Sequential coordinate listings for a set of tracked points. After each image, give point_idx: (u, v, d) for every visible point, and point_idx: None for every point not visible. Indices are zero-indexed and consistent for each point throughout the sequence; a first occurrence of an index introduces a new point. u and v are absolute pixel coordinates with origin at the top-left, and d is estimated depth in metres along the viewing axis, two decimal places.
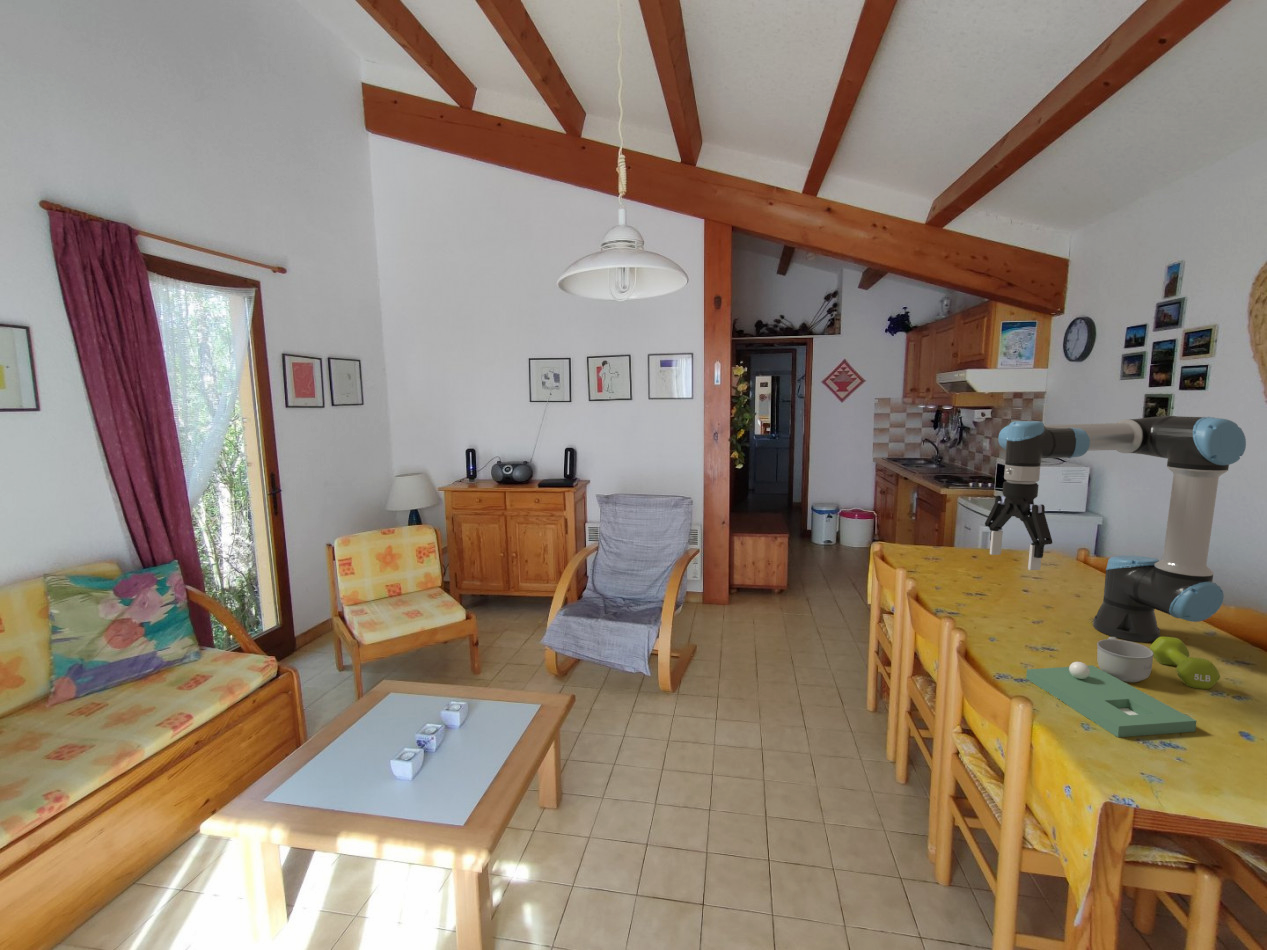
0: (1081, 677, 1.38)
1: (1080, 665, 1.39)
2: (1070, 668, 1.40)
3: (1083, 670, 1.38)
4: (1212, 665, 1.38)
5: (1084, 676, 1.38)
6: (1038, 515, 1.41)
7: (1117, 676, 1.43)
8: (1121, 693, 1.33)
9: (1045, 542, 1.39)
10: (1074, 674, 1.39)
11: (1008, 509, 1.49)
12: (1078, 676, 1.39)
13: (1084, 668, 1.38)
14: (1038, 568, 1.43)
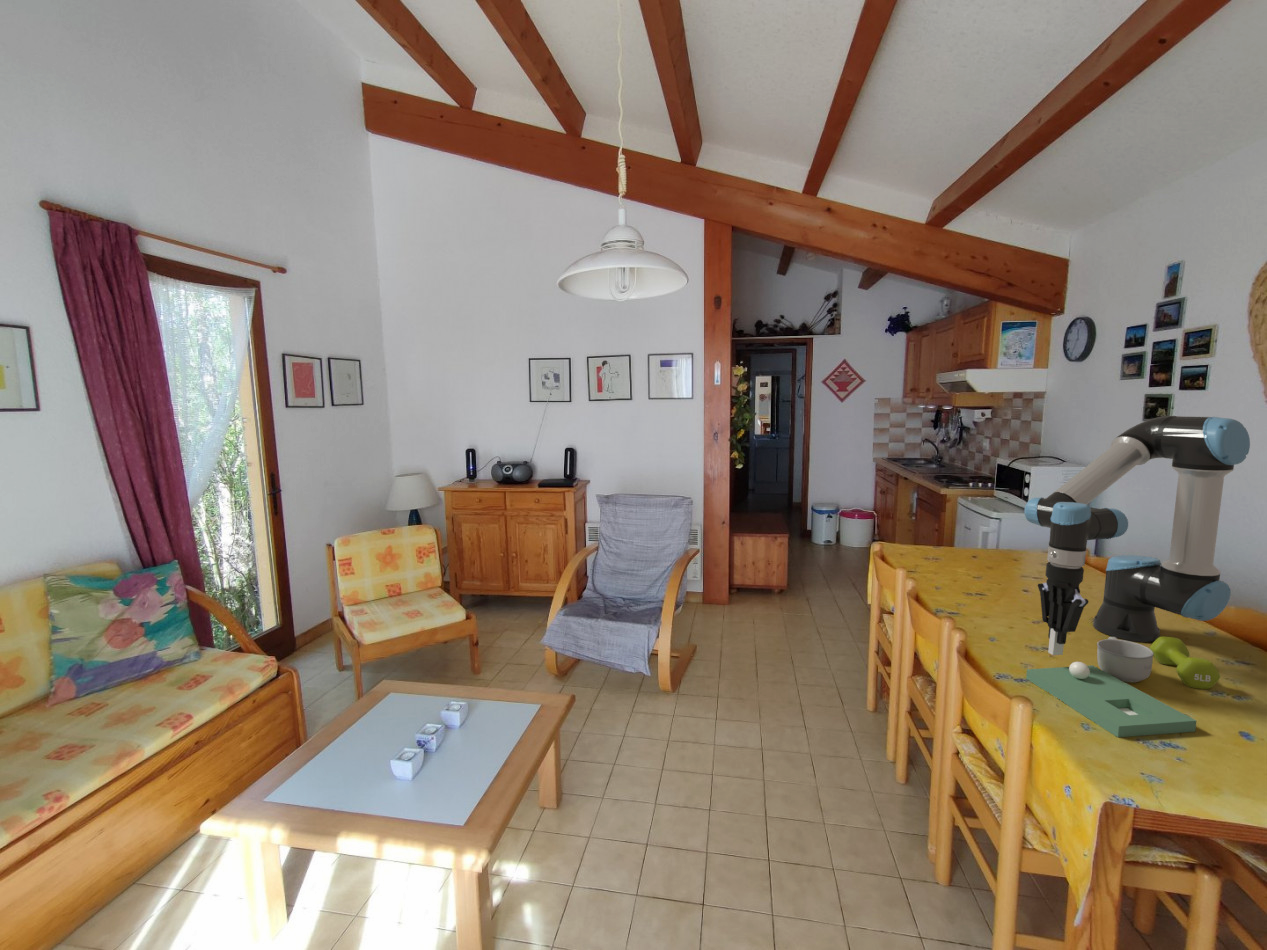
0: (1081, 677, 1.38)
1: (1080, 665, 1.39)
2: (1070, 668, 1.40)
3: (1083, 670, 1.38)
4: (1212, 665, 1.38)
5: (1084, 676, 1.38)
6: (1076, 608, 1.39)
7: (1117, 676, 1.43)
8: (1121, 693, 1.33)
9: (1068, 630, 1.42)
10: (1074, 674, 1.39)
11: (1054, 592, 1.45)
12: (1078, 676, 1.39)
13: (1084, 668, 1.38)
14: (1060, 653, 1.46)
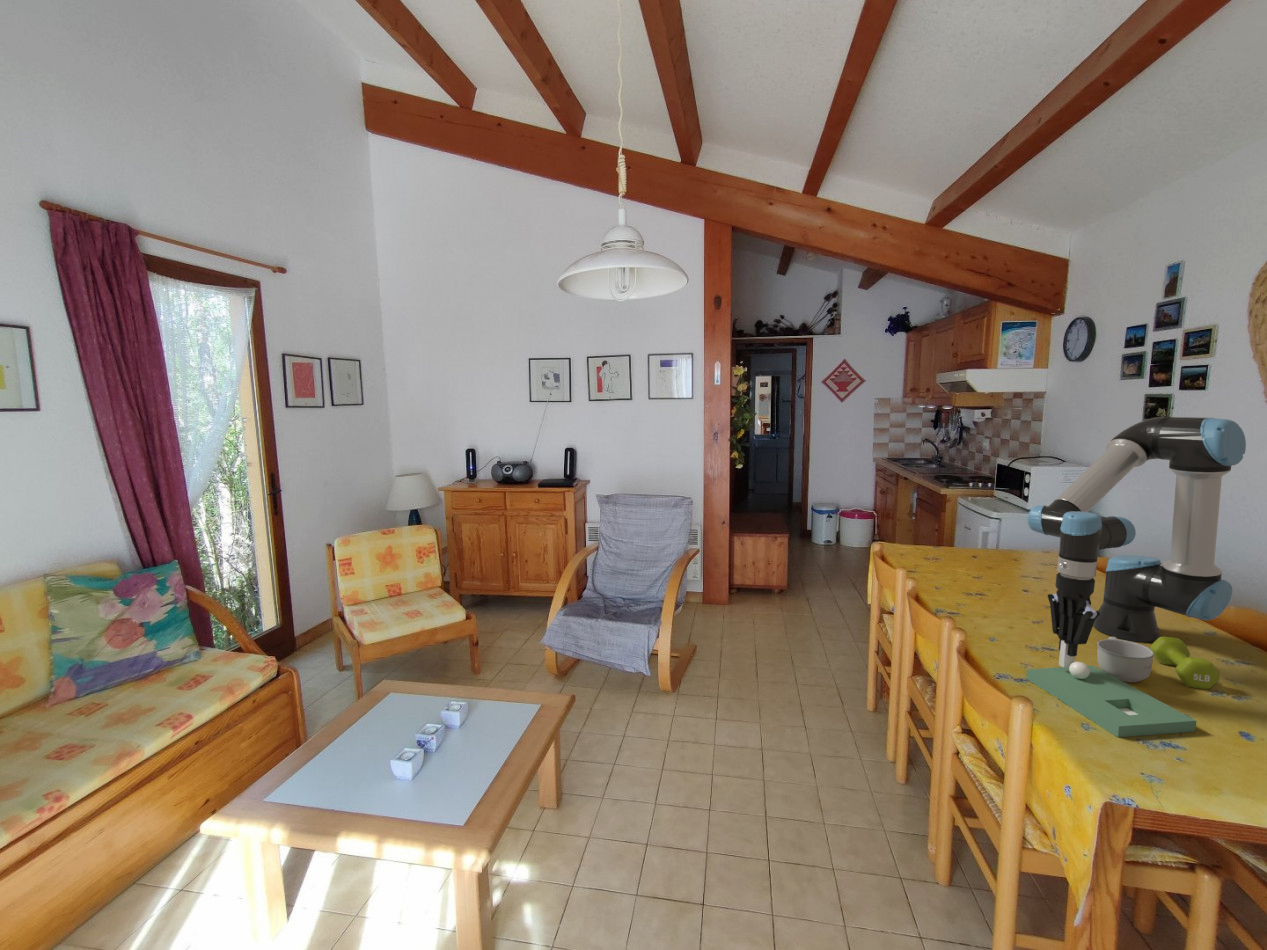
0: (1081, 677, 1.38)
1: (1080, 665, 1.39)
2: (1070, 668, 1.40)
3: (1083, 670, 1.38)
4: (1211, 665, 1.38)
5: (1084, 676, 1.38)
6: (1088, 621, 1.36)
7: (1117, 676, 1.43)
8: (1121, 693, 1.33)
9: (1079, 642, 1.39)
10: (1074, 674, 1.39)
11: (1064, 603, 1.42)
12: (1078, 676, 1.39)
13: (1084, 668, 1.38)
14: None
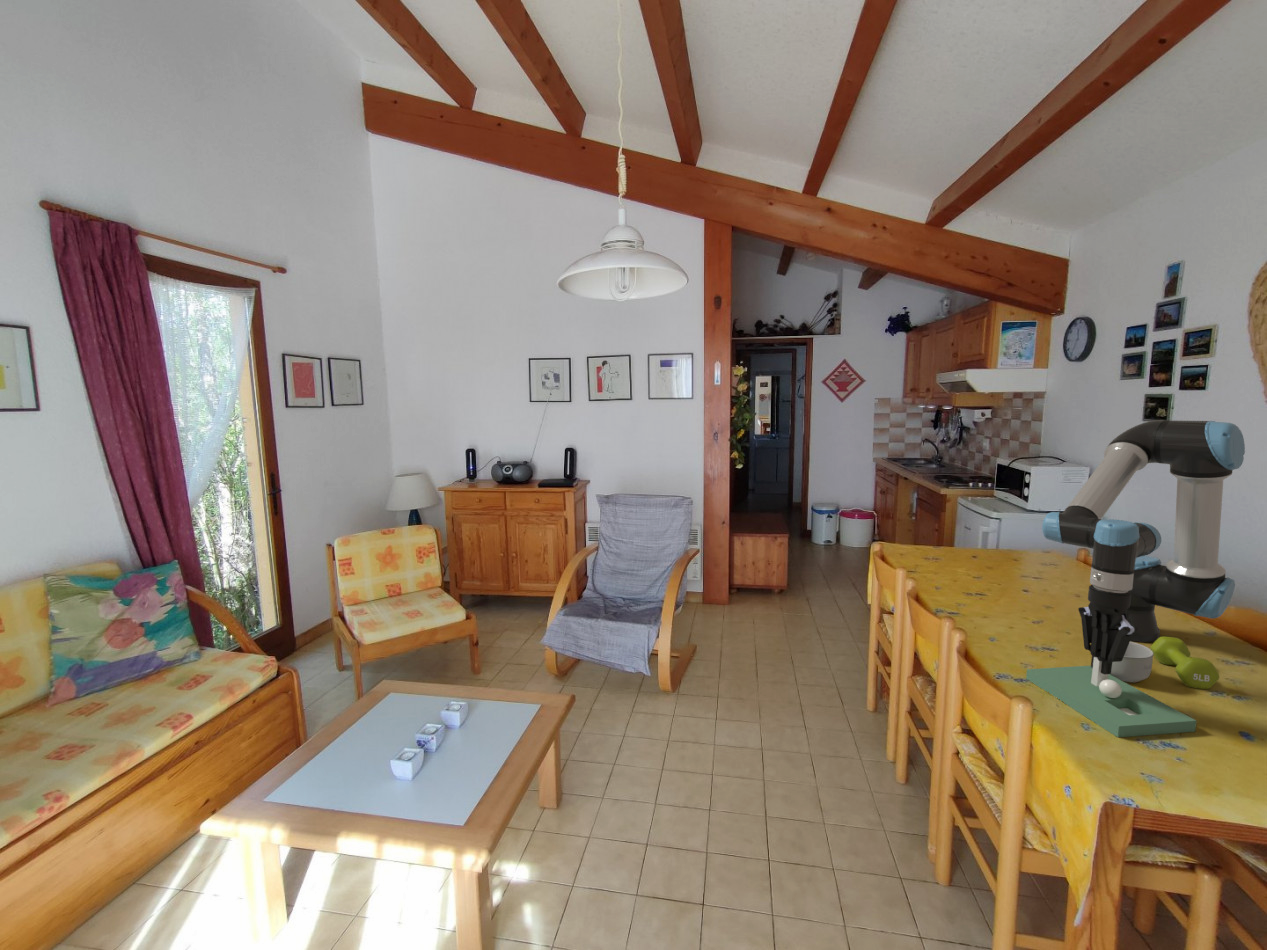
0: (1109, 682, 1.30)
1: None
2: (1101, 690, 1.31)
3: (1103, 680, 1.32)
4: (1211, 665, 1.38)
5: (1110, 680, 1.31)
6: (1124, 637, 1.27)
7: (1117, 676, 1.43)
8: (1121, 693, 1.33)
9: (1114, 660, 1.30)
10: (1104, 686, 1.31)
11: (1097, 617, 1.33)
12: (1107, 683, 1.31)
13: None
14: None
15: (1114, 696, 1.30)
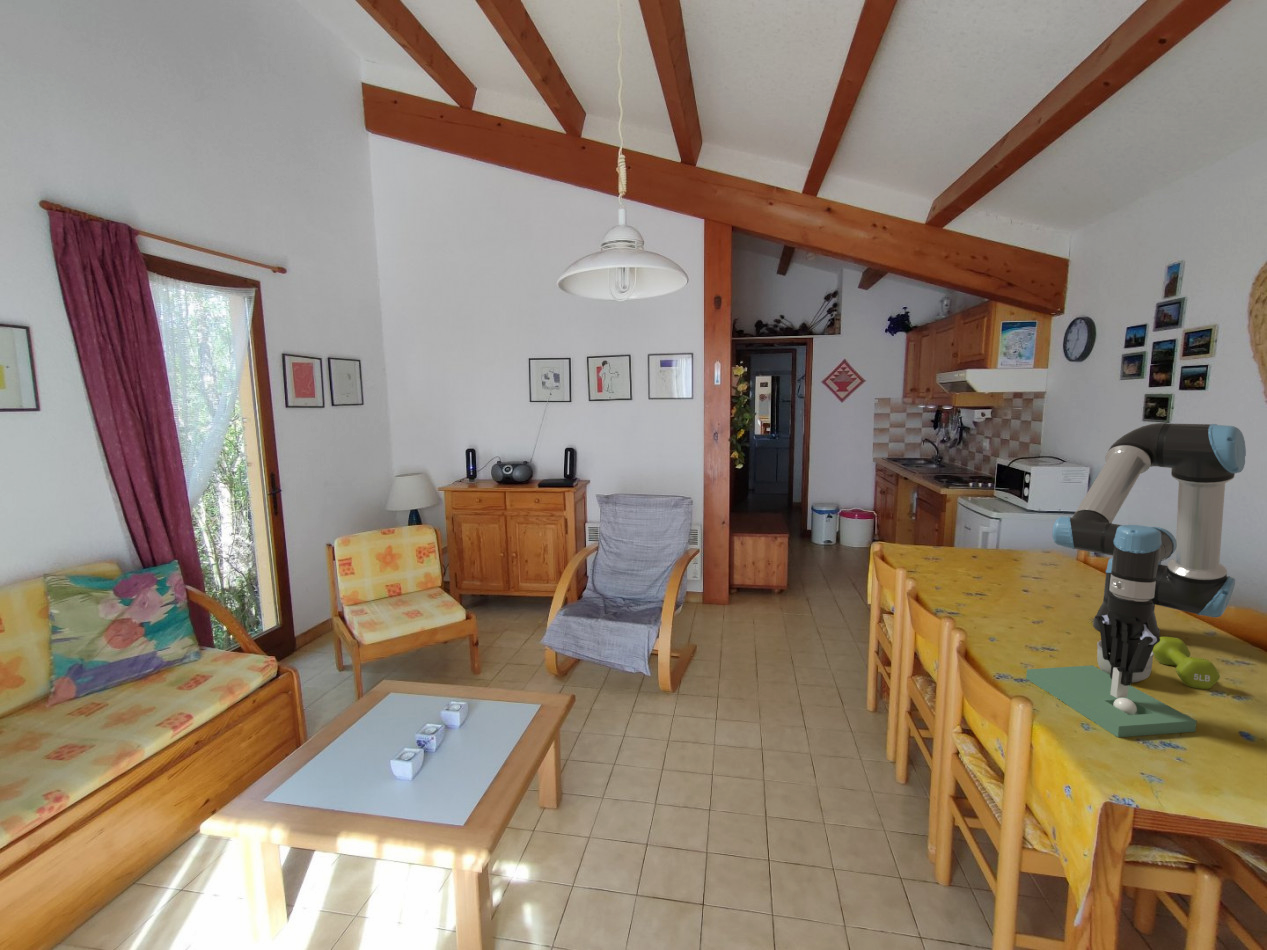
0: None
1: (1129, 705, 1.26)
2: (1116, 704, 1.28)
3: (1130, 712, 1.26)
4: (1212, 665, 1.38)
5: None
6: (1146, 647, 1.22)
7: None
8: None
9: (1135, 671, 1.25)
10: None
11: (1117, 626, 1.28)
12: None
13: (1132, 710, 1.26)
14: (1125, 695, 1.29)
15: None
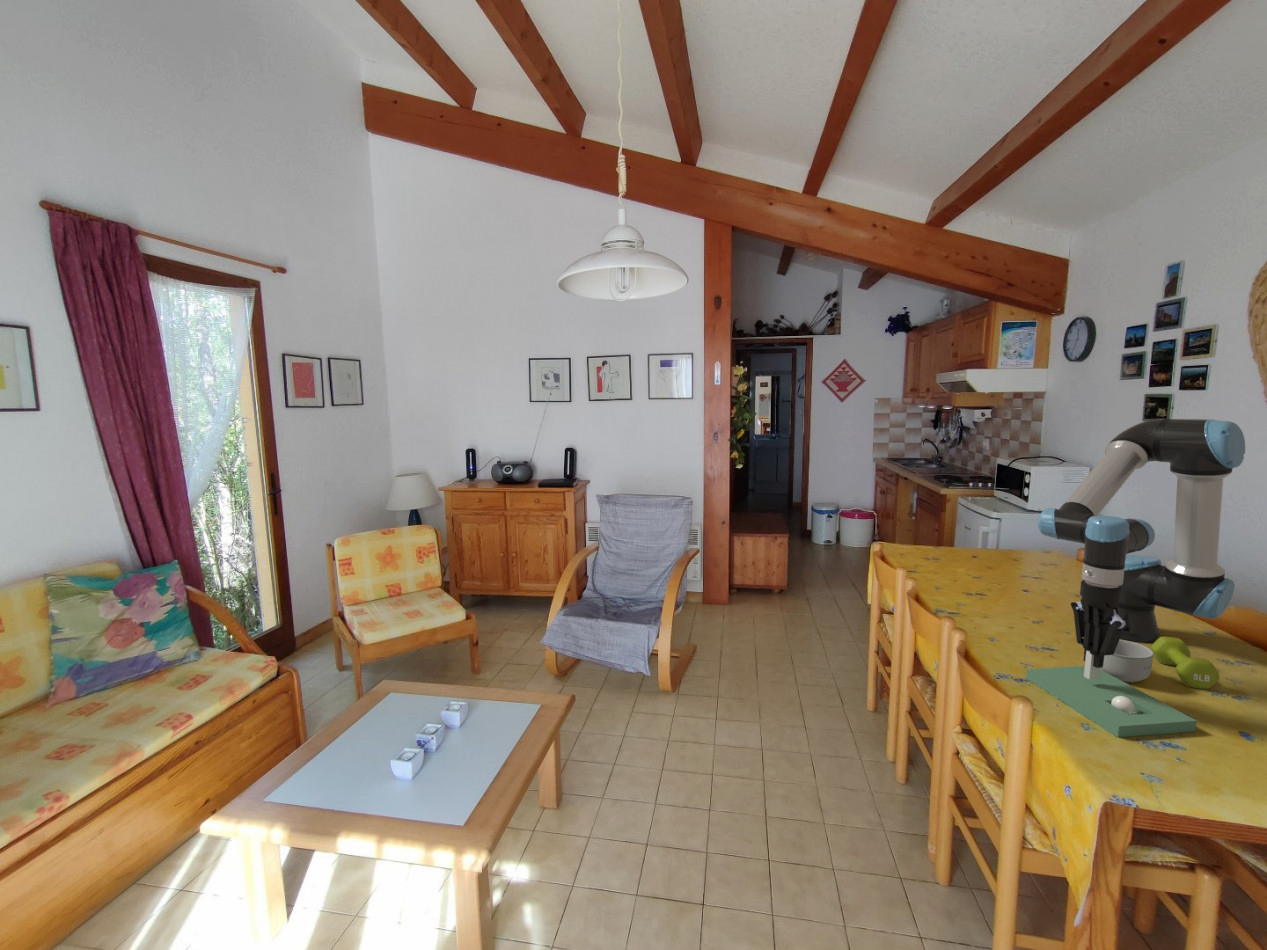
0: None
1: (1126, 700, 1.27)
2: (1113, 702, 1.29)
3: (1128, 707, 1.26)
4: (1211, 665, 1.38)
5: (1128, 713, 1.27)
6: (1115, 631, 1.30)
7: (1117, 676, 1.43)
8: (1121, 693, 1.33)
9: (1106, 653, 1.32)
10: None
11: (1089, 612, 1.35)
12: None
13: (1130, 704, 1.26)
14: (1097, 677, 1.36)
15: None
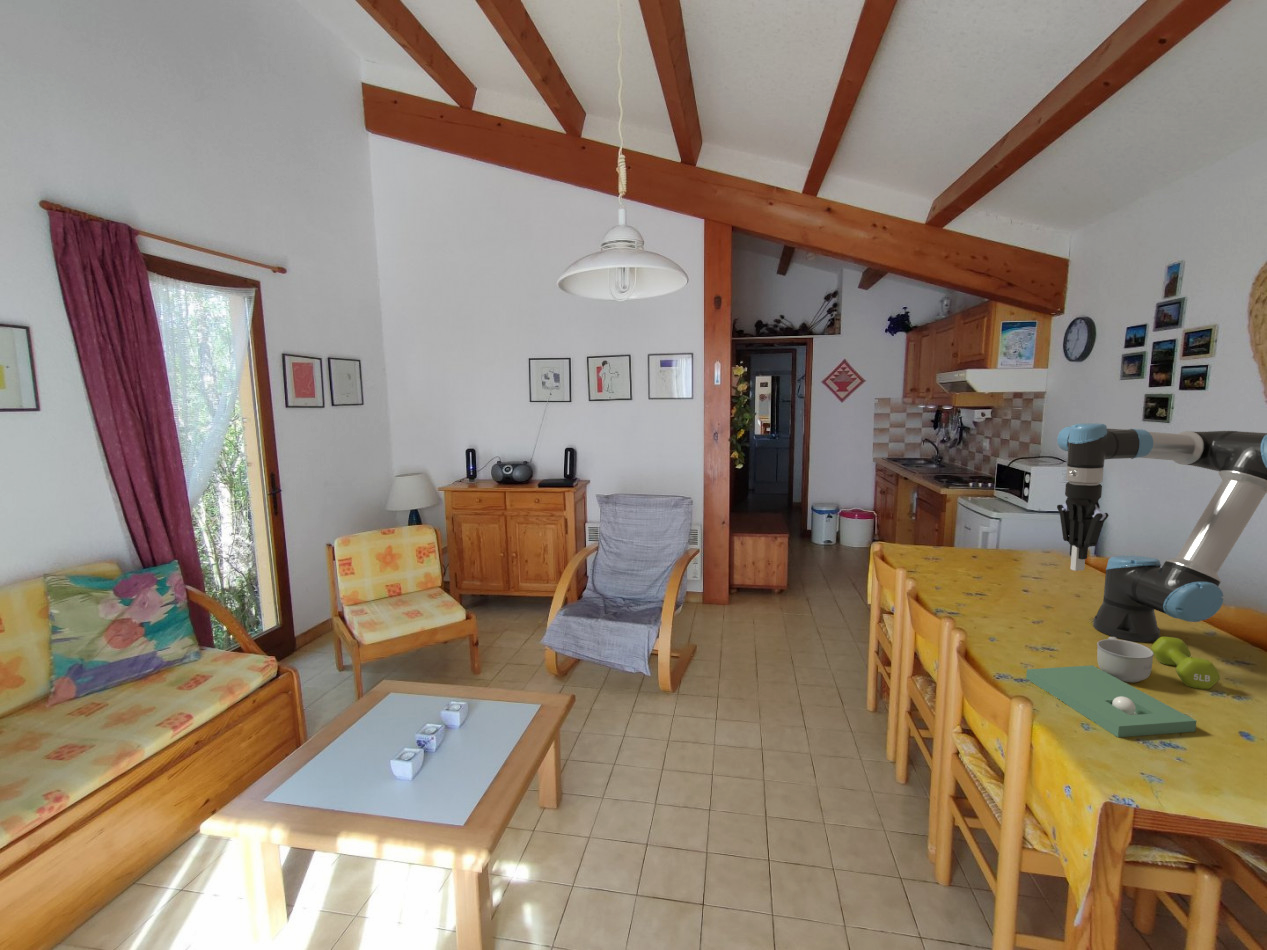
0: None
1: (1127, 702, 1.27)
2: (1114, 702, 1.28)
3: (1129, 708, 1.26)
4: (1212, 665, 1.38)
5: (1128, 714, 1.27)
6: (1097, 523, 1.46)
7: (1117, 676, 1.43)
8: (1121, 693, 1.33)
9: (1090, 544, 1.49)
10: None
11: (1074, 510, 1.52)
12: None
13: (1131, 706, 1.26)
14: (1082, 568, 1.53)
15: None
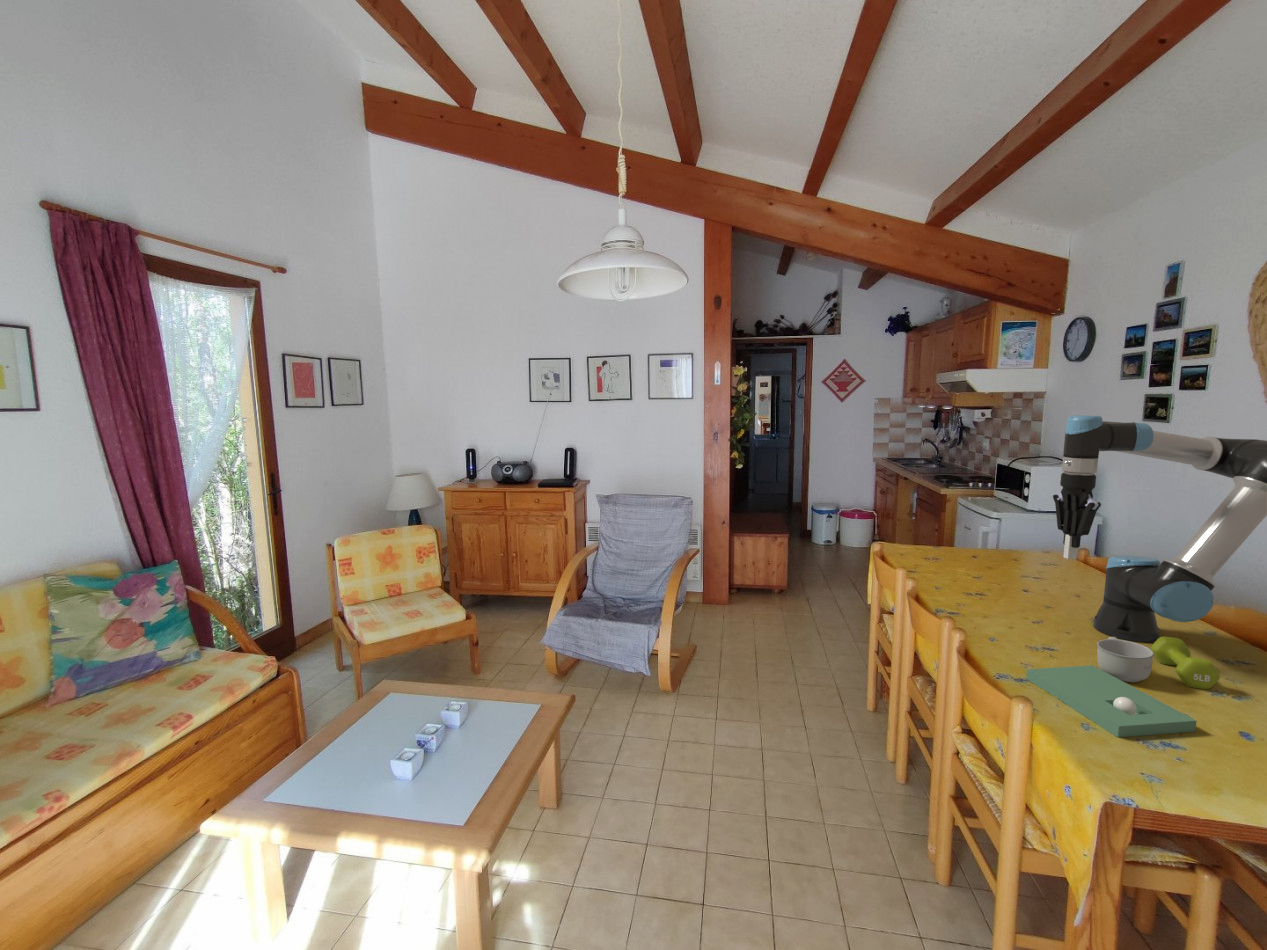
0: None
1: (1129, 703, 1.26)
2: (1116, 703, 1.28)
3: (1130, 710, 1.26)
4: (1212, 665, 1.38)
5: None
6: (1090, 512, 1.50)
7: (1117, 676, 1.43)
8: (1121, 693, 1.33)
9: (1082, 533, 1.53)
10: None
11: (1068, 499, 1.56)
12: None
13: (1132, 708, 1.26)
14: (1075, 557, 1.57)
15: None
